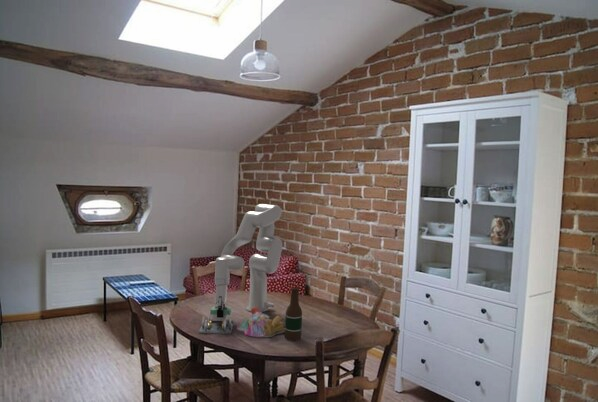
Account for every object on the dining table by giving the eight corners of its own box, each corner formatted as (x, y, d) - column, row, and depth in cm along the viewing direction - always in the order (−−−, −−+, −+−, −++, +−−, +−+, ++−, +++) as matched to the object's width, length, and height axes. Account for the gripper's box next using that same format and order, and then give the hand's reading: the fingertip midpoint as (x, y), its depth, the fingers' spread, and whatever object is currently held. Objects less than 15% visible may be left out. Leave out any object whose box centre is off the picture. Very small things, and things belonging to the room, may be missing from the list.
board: (231, 311, 236) (231, 305, 236) (230, 315, 230) (230, 309, 230) (212, 311, 236) (212, 305, 235) (210, 314, 230) (210, 308, 229)
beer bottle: (284, 335, 214) (286, 285, 213) (300, 335, 215) (302, 285, 214) (285, 341, 206) (287, 289, 205) (301, 341, 207) (304, 290, 206)
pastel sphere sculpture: (293, 327, 227) (294, 309, 226) (272, 342, 205) (273, 322, 205) (250, 319, 237) (251, 302, 236) (226, 332, 215) (226, 313, 215)
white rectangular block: (228, 318, 235) (229, 312, 235) (228, 321, 231) (228, 314, 231) (213, 318, 235) (213, 311, 234) (212, 320, 231) (212, 313, 231)
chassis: (233, 325, 224) (233, 314, 224) (230, 334, 212) (231, 321, 212) (203, 324, 224) (203, 313, 223) (198, 333, 212) (199, 320, 211)
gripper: (217, 277, 240) (216, 310, 241) (212, 284, 223) (211, 320, 224) (231, 277, 241) (230, 310, 242) (227, 285, 224) (226, 320, 224)
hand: (220, 315), depth 233 cm, fingers closed on board, 6 cm apart
